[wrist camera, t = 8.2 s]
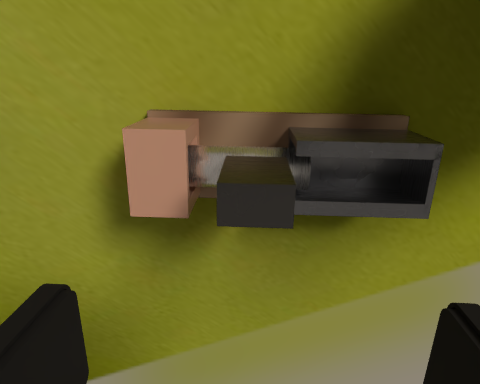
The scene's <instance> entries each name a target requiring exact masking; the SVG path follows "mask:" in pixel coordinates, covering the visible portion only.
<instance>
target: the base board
mask: <svg viewBox="0 0 480 384" xmlns="http://www.w3.org/2000/svg"><path fill="white" fill-rule="evenodd" d="M147 116H148V118H192V119H199V145H204V146H244V147H285V148H288V136H289V127H305V128H349V129H394V130H407V128H408V122H409V116H406V115H380V114H333V113H286V112H239V111H191V110H149V111H147ZM198 197H202V198H217V188H214V187H200V194H199V196H198Z"/></svg>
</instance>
